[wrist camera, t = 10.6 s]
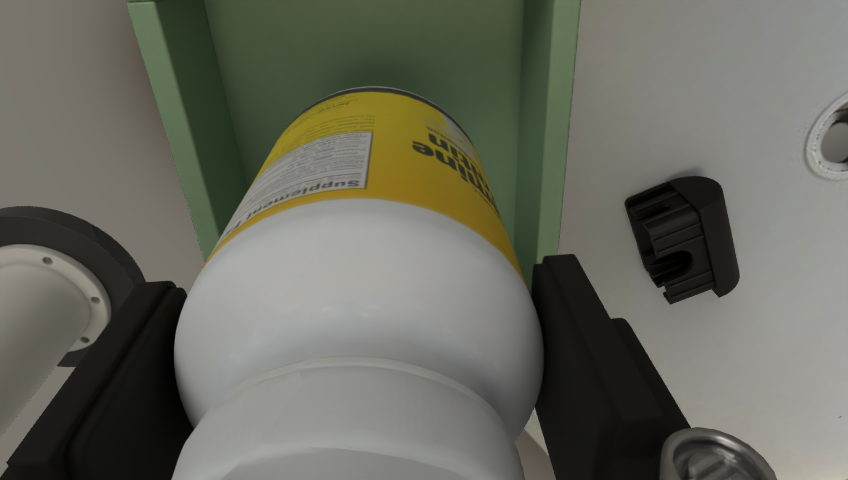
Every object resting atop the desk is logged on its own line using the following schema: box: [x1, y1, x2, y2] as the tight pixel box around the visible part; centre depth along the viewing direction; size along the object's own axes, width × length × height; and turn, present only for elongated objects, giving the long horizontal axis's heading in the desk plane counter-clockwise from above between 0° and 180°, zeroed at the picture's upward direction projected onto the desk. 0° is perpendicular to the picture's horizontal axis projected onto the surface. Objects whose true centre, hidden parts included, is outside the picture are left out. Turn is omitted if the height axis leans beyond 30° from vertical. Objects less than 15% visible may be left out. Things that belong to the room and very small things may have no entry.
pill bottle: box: [171, 86, 544, 480], centre depth 12 cm, size 6×6×12 cm
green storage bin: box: [126, 0, 581, 295], centre depth 19 cm, size 13×13×5 cm
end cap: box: [625, 176, 740, 305], centre depth 49 cm, size 10×7×7 cm
